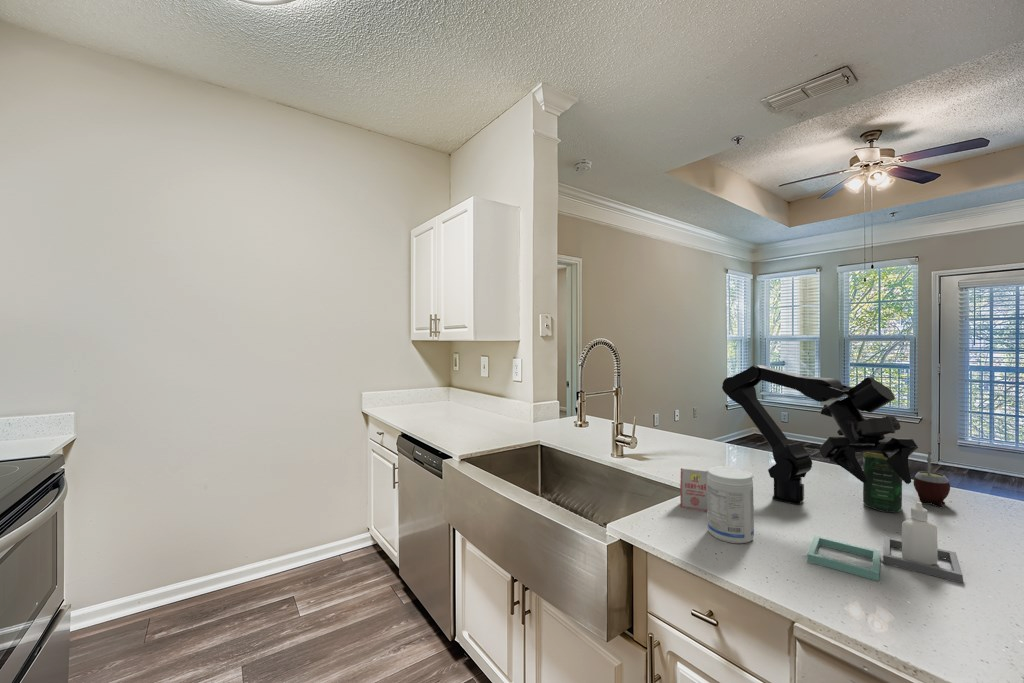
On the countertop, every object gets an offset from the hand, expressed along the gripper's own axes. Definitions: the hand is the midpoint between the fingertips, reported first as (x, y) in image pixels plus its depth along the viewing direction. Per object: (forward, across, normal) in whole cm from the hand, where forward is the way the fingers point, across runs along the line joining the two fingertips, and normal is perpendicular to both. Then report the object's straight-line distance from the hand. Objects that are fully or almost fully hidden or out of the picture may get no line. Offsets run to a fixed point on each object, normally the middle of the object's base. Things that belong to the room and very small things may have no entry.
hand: (887, 482), depth 94 cm
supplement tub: (+8, -33, +11) cm, 36 cm away
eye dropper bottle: (+15, 0, +3) cm, 16 cm away
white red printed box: (-3, -34, +24) cm, 42 cm away
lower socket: (+15, -15, +3) cm, 22 cm away
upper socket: (+15, 0, +3) cm, 16 cm away
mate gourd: (-6, +30, +25) cm, 40 cm away
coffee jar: (-5, +15, +24) cm, 29 cm away
